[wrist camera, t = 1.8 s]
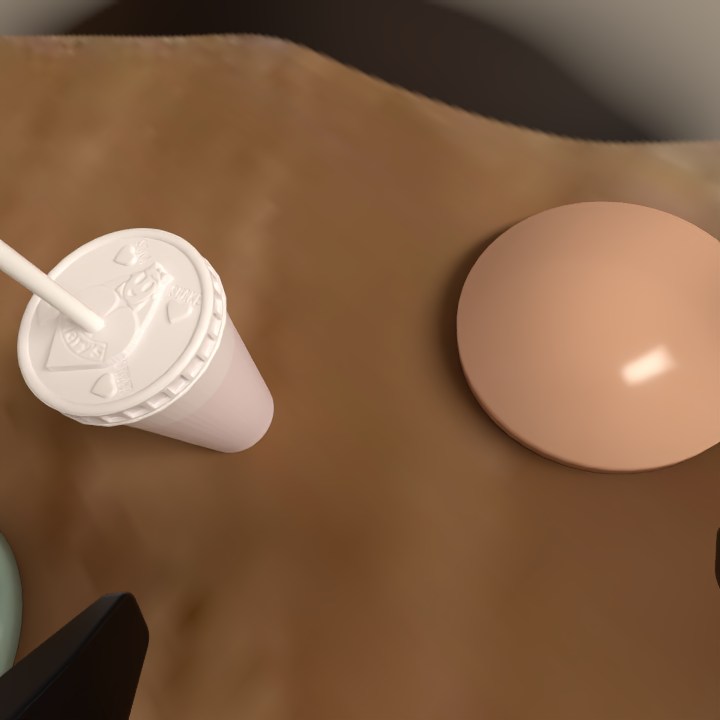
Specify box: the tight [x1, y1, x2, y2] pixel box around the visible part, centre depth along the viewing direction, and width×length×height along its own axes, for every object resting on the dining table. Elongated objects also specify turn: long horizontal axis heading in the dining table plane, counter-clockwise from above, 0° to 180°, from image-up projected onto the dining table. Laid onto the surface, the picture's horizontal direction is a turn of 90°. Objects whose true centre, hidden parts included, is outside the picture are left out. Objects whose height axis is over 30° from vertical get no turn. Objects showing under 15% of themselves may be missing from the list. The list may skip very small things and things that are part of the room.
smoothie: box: [0, 228, 274, 453], centre depth 19 cm, size 6×6×14 cm
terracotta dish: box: [457, 202, 720, 474], centre depth 23 cm, size 12×12×1 cm
